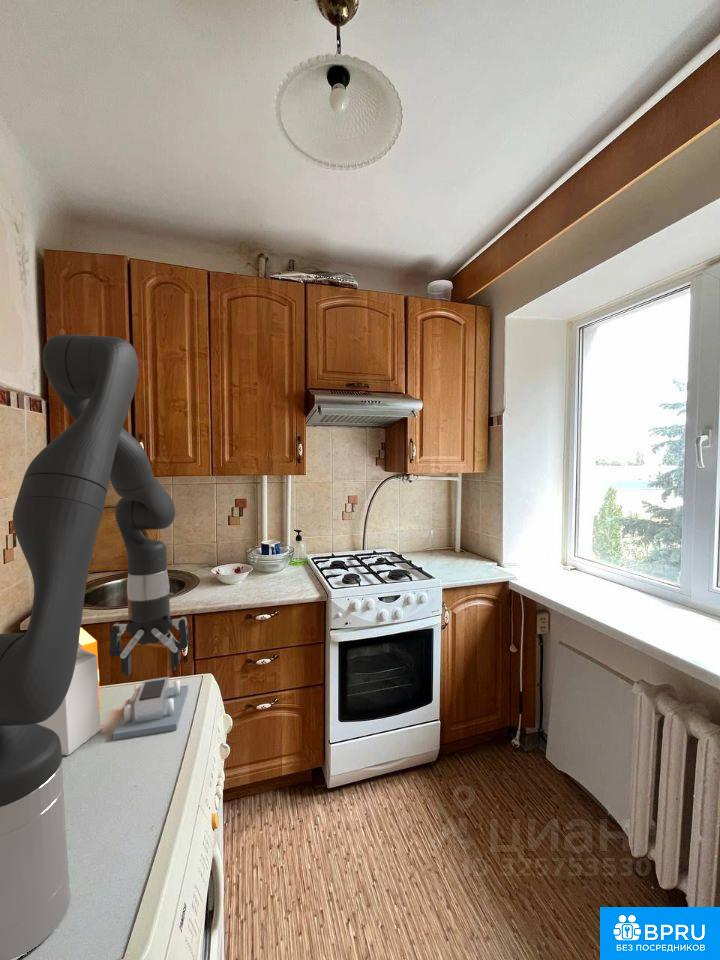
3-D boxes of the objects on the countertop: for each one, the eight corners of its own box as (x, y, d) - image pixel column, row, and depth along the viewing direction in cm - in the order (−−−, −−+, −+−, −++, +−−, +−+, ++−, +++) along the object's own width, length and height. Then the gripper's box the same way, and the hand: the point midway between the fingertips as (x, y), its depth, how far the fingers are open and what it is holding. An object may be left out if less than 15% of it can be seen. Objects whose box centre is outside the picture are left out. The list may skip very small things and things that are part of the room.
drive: (163, 718, 82) (162, 698, 82) (135, 723, 80) (134, 703, 80) (169, 693, 90) (169, 675, 90) (144, 697, 89) (143, 679, 89)
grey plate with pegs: (176, 730, 80) (175, 709, 80) (113, 740, 77) (112, 718, 77) (188, 690, 94) (187, 672, 93) (134, 697, 91) (133, 679, 91)
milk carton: (68, 756, 73) (62, 652, 72) (35, 751, 75) (29, 648, 74) (101, 730, 80) (96, 634, 79) (70, 726, 82) (65, 631, 81)
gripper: (102, 602, 79) (106, 686, 79) (183, 595, 82) (186, 675, 83) (115, 590, 86) (118, 667, 87) (189, 584, 89) (191, 658, 90)
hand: (151, 671), depth 85 cm, fingers open, 8 cm apart
